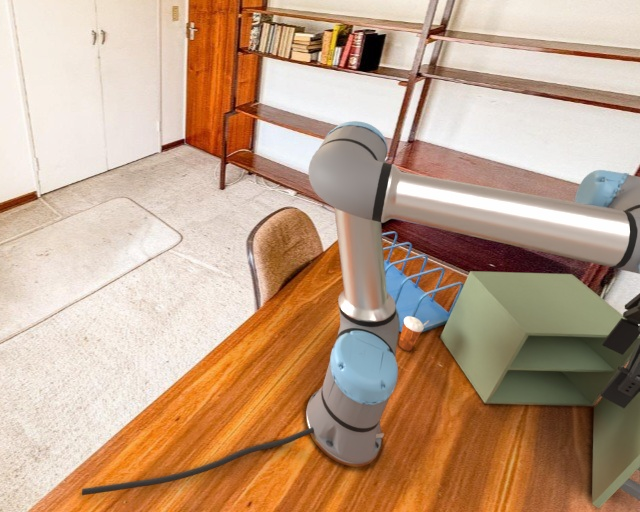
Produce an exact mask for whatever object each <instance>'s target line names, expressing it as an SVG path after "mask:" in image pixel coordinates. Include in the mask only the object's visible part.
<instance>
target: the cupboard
mask: <svg viewBox="0 0 640 512" xmlns="http://www.w3.org/2000/svg"><path fill="white" fill-rule="evenodd" d="M463 285H464V286H463V288H462V290H461V293H460V295H459V297H458V299H457V301H456V303H455V306H454V308H453V310H452V312H451V314H450V317H449V319H448V321H447V323H446V324H444V325H445V326H444V328H443V330H442V332H441V334H440V339H441V341H442V343H443V344H444V346H445V347H446V349H447V350H448V351H449V353H450V355H451V356H452V357H453V359H454V360H455V361H456V364H458V366H459V367H460V369H461V370H462V372H463V373H464V375H465V376H466V378H467V379H468V381H469V382H470V384H471V385H472V387H473V388H474V390H475V391H476V393H477V394H478V396H479V397H480V398H481V400H482V402H483V403H484V404H487V405H488V404H490V405H527V406H528V405H530V406H565V407H566V406H567V407H568V406H569V407H573V406H574V407H595V406H596V404H597V403H598V402H599V400H600V399H601V398H602V396H601V392H602V391H603V390H604V388H605V387H606V386H607V385H608V384H609V382H610V381H611V380H612V379H613V378H614V376H615V375H616V374H617V373H618V372H619V370H618V366H620V367H624V368H625V367H626V366H627V365H628V362H629V360H630V358H631V356H632V354H633V351H634V349H635V347H636V345H637V342H638V340H639V338H640V335H639V336H638V337H637V338H636V340H635V341H634V342H633V343H632V344H631V346H630V347H629V348H628V349H627V351H626V352H625V353H624V354H623V355H621V354H619V353H617V352H615V351H613V350H611V349H609V348H607V347H605V346H603V345H602V343H603V341H604V340H605V339H606V337H607V336H608V335H609V334H610V332H611V331H612V330H613V328H614V327H615V326H616V325H617V323H618V322H619V321H620V319H621V318H623V319H625V318H624V317H623V313H620V312H619V311H618V310H617V309H616V308H615V307H613V306H612V305H611V304H610V303H608V302H607V301H606V300H604V299H603V298H602V297H601V296H599V295H598V294H597V293H596V292H595V291H593V290H592V289H591V288H590V287H588V286H587V285H586V284H585V283H583V282H582V281H581V280H580V279H578V277H576V276H575V275H574V274H572V273H547V272H546V273H545V272H544V273H543V272H542V273H541V272H510V271H509V272H508V271H507V272H506V271H477V270H476V271H475V270H474V271H473V270H470V271H469V273H468V275H467V277H466V280H465V281H464V283H463Z"/></svg>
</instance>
